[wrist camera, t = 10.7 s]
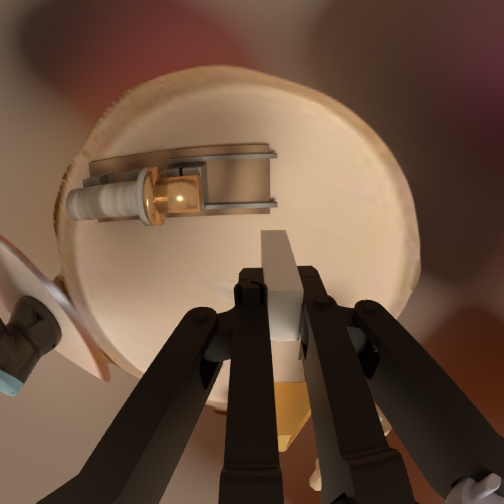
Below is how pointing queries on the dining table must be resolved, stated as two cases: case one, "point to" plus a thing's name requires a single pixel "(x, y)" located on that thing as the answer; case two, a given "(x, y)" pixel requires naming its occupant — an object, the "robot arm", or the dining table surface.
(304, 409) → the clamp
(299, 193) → the dining table surface
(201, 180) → the coupling
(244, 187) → the pipe jig
